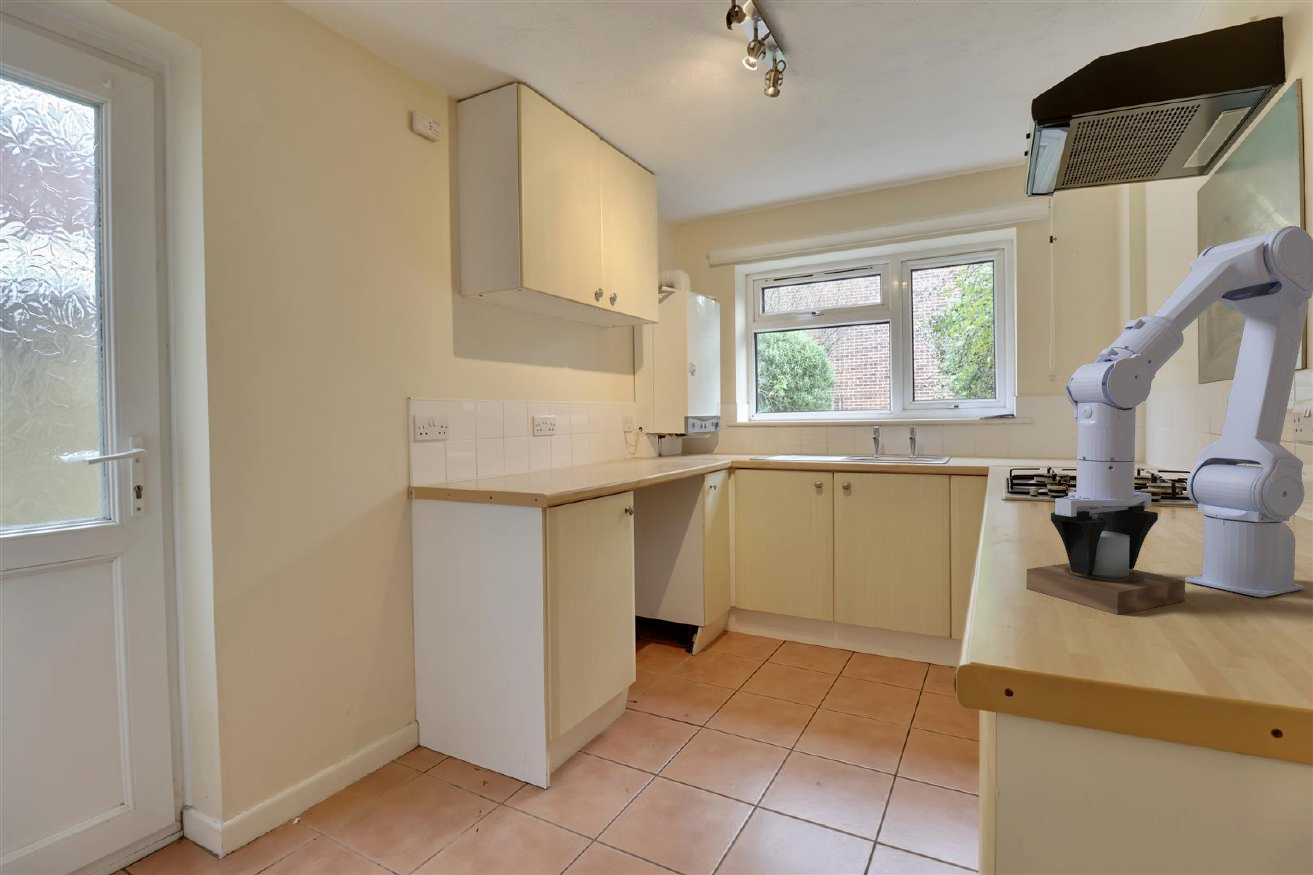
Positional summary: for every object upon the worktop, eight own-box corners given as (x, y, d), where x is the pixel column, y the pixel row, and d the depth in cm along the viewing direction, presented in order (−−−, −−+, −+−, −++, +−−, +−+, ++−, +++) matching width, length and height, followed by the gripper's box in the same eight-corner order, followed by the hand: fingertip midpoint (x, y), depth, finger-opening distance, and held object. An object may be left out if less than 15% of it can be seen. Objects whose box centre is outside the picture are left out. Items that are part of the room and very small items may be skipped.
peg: (1095, 585, 79) (1096, 528, 79) (1138, 596, 74) (1140, 536, 74) (1067, 589, 77) (1068, 532, 77) (1110, 601, 72) (1111, 539, 72)
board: (1090, 578, 83) (1090, 559, 83) (1184, 601, 73) (1185, 580, 73) (1026, 588, 79) (1026, 568, 79) (1117, 614, 69) (1117, 592, 68)
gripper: (1110, 455, 81) (1108, 557, 82) (1032, 460, 76) (1030, 568, 77) (1171, 459, 75) (1168, 570, 75) (1090, 464, 70) (1087, 583, 70)
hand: (1102, 570), depth 76 cm, fingers open, 7 cm apart
